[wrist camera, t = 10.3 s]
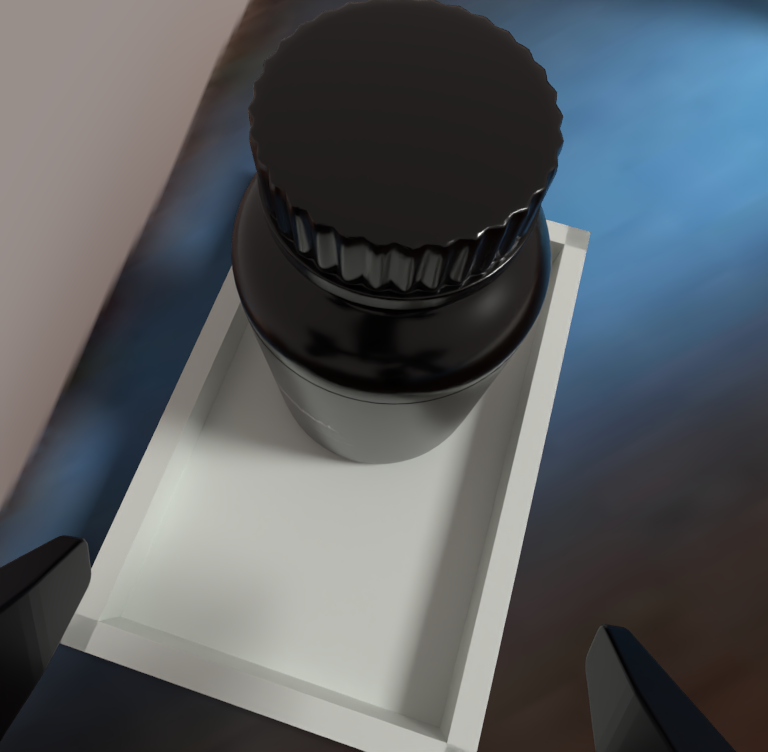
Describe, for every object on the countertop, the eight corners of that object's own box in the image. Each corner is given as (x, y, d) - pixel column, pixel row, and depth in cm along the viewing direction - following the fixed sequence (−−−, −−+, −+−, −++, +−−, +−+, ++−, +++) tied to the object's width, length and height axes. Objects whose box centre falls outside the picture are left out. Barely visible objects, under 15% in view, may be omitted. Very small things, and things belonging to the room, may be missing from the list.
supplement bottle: (256, 442, 19) (88, 245, 7) (312, 268, 21) (250, -90, 10) (457, 492, 18) (607, 365, 7) (492, 309, 21) (650, -10, 9)
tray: (456, 764, 16) (468, 787, 14) (89, 634, 17) (57, 642, 15) (571, 259, 22) (590, 232, 20) (293, 179, 23) (287, 146, 21)
